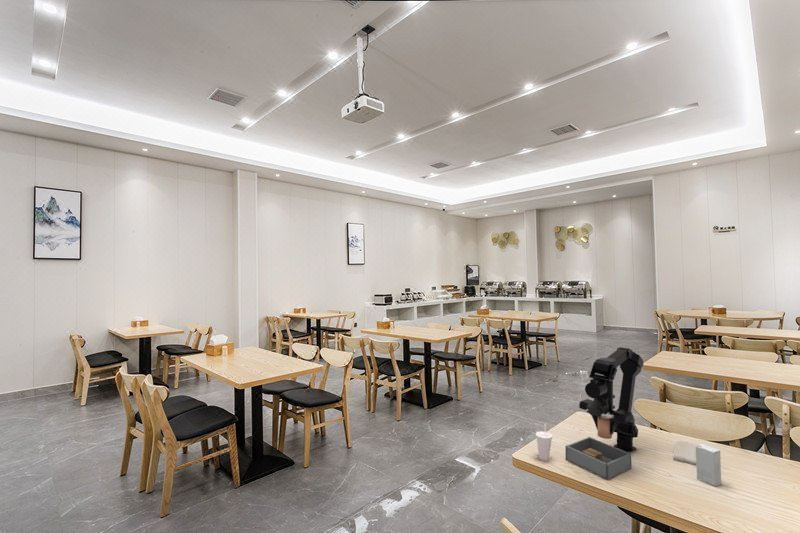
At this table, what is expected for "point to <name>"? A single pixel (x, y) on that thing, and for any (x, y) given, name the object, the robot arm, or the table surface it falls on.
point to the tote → (607, 468)
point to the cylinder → (604, 427)
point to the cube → (593, 453)
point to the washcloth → (685, 452)
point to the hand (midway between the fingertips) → (604, 432)
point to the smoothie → (544, 444)
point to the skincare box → (708, 464)
